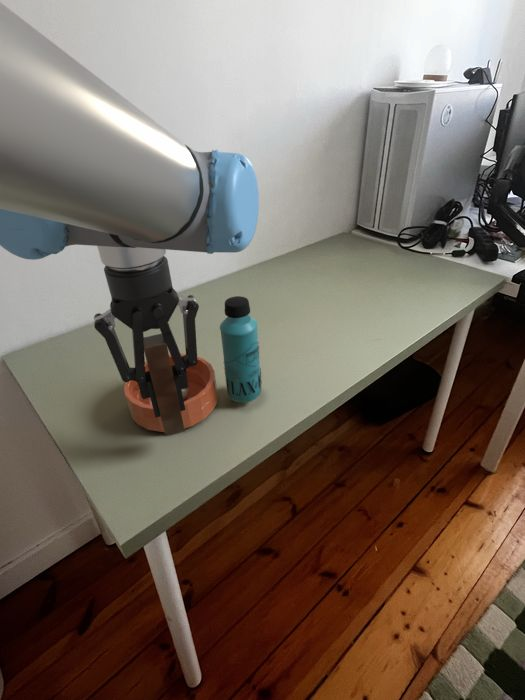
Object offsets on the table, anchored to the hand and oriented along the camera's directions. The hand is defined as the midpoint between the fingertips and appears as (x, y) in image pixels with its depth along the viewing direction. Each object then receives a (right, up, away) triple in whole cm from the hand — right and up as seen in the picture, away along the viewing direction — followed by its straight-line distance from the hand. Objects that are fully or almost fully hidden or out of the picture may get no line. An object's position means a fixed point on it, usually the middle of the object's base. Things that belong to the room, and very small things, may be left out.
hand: (169, 407), depth 65 cm
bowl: (-2, -1, +14) cm, 14 cm away
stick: (0, -3, +2) cm, 4 cm away
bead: (-1, +1, +13) cm, 13 cm away
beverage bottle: (+11, 0, +15) cm, 18 cm away
